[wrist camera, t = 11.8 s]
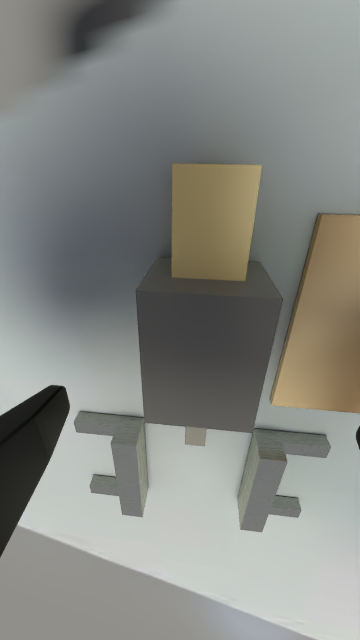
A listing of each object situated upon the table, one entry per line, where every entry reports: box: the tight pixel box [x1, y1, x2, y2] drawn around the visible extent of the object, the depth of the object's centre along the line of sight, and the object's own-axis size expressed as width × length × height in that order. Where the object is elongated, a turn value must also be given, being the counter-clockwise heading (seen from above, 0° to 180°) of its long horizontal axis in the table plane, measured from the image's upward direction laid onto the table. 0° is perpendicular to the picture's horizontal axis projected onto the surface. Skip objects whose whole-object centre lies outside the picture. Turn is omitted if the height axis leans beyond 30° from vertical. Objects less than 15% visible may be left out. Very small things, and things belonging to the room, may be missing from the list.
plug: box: [136, 163, 283, 446], centre depth 11 cm, size 4×14×4 cm, turn 179°
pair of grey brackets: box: [74, 412, 331, 532], centre depth 17 cm, size 16×8×2 cm, turn 89°
